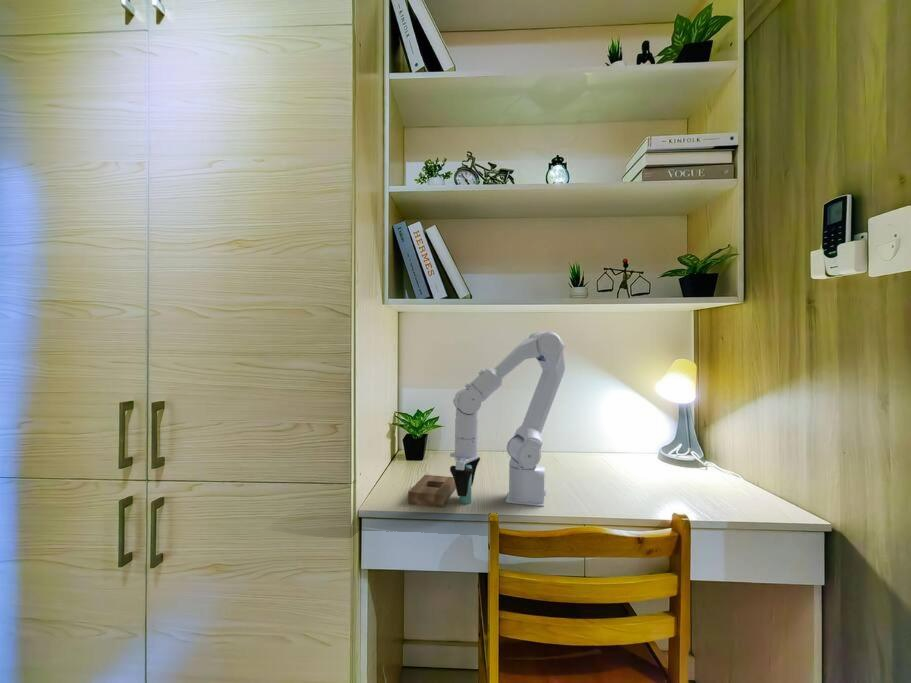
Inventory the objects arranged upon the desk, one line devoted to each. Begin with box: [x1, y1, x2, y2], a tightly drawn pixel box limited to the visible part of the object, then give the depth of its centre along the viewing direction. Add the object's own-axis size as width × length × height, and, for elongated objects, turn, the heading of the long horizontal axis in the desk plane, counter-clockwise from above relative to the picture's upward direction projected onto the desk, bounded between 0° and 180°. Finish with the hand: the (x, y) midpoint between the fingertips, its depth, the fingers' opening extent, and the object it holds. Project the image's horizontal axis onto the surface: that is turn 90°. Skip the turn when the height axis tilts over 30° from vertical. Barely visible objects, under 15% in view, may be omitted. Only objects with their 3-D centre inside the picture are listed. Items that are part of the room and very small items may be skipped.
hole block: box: [407, 474, 456, 508], centre depth 111 cm, size 9×14×3 cm, turn 167°
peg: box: [458, 465, 472, 505], centre depth 107 cm, size 3×3×9 cm
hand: (465, 490), depth 107 cm, fingers open, 7 cm apart
